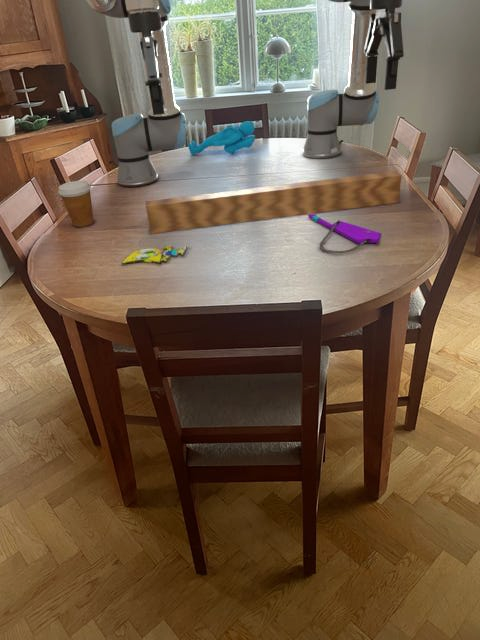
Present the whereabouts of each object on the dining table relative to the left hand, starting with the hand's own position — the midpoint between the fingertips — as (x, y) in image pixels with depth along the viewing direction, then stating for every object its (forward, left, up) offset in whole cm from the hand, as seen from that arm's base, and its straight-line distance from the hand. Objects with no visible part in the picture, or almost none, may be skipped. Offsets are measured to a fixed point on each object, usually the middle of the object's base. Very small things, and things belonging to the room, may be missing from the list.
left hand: (159, 109), depth 123 cm
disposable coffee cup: (-22, -23, -32) cm, 46 cm away
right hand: (+18, +56, 0) cm, 59 cm away
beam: (+9, +28, -32) cm, 44 cm away
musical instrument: (+32, +33, -32) cm, 56 cm away
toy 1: (+15, -11, -32) cm, 37 cm away
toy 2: (-71, +47, -32) cm, 91 cm away
